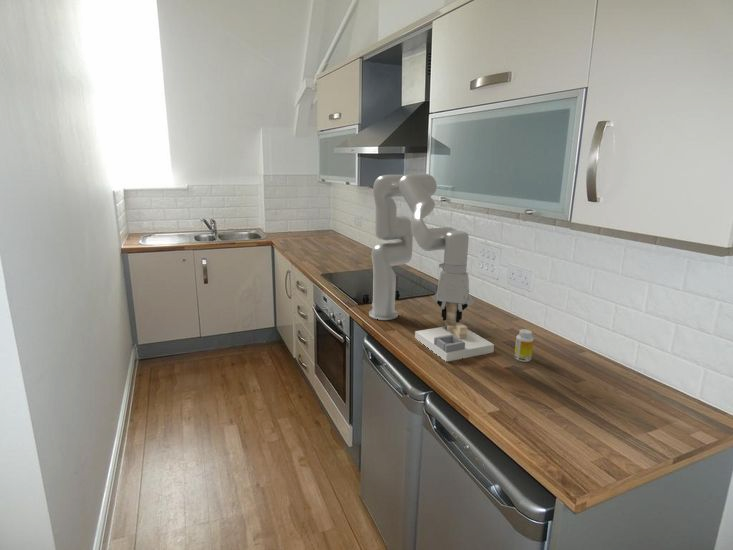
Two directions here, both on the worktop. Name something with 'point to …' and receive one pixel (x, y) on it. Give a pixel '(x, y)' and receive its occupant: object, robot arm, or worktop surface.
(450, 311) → the loose leg
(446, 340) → the white board with frame
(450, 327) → the beige angular block
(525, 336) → the supplement bottle
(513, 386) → the worktop surface
